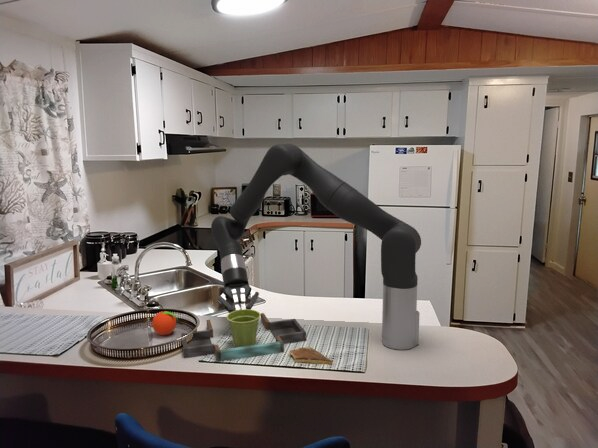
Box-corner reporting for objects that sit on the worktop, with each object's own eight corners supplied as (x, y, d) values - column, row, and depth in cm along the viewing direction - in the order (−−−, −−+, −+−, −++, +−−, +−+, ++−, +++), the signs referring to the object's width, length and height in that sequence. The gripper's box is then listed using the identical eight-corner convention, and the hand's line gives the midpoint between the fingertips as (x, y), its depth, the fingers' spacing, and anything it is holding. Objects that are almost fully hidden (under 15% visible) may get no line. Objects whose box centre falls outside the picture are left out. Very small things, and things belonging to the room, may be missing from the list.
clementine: (184, 330, 140) (182, 308, 139) (173, 339, 133) (172, 316, 132) (159, 328, 141) (158, 306, 140) (148, 338, 135) (146, 314, 133)
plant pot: (221, 348, 127) (219, 318, 125) (239, 334, 135) (238, 307, 134) (250, 355, 123) (249, 324, 121) (267, 340, 132) (266, 312, 130)
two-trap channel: (287, 317, 149) (287, 310, 149) (311, 347, 127) (311, 339, 126) (180, 331, 139) (179, 323, 139) (185, 366, 117) (184, 357, 116)
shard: (333, 366, 117) (333, 360, 117) (308, 375, 113) (308, 368, 113) (309, 351, 126) (309, 344, 126) (285, 358, 122) (285, 351, 122)
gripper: (213, 268, 137) (220, 322, 127) (256, 264, 141) (266, 316, 131) (211, 280, 143) (218, 332, 133) (253, 276, 147) (263, 327, 137)
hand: (242, 324), depth 132 cm, fingers closed
